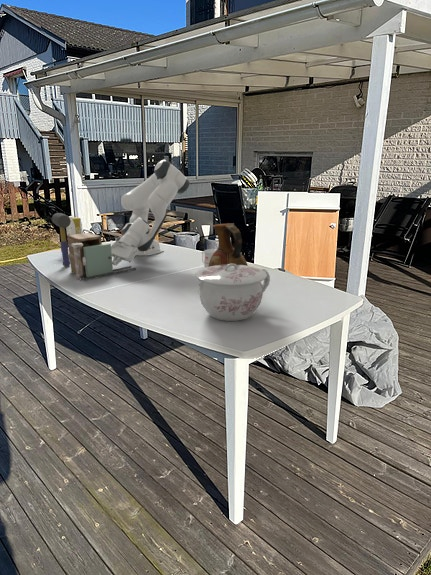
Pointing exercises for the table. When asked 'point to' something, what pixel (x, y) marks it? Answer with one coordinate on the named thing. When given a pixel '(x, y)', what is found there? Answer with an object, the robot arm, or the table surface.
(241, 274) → the chamber pot
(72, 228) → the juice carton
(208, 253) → the mug
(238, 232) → the ceramic pitcher
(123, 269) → the door track
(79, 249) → the walnut cabinet
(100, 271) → the cabinet door
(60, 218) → the rubber mallet
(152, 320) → the table surface
